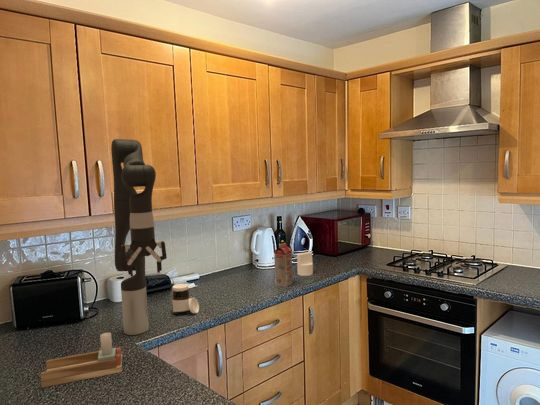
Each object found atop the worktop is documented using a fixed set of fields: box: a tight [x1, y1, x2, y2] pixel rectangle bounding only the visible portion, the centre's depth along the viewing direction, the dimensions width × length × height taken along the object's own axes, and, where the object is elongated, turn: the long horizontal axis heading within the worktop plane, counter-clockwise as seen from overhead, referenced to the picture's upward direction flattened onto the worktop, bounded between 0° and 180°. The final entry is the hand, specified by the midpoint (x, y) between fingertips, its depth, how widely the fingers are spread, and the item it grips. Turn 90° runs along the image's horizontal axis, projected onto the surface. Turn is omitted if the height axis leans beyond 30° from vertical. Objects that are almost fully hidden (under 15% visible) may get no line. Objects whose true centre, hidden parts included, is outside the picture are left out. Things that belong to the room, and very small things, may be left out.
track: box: [40, 346, 123, 388], centre depth 122 cm, size 10×22×4 cm, turn 110°
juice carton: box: [273, 242, 294, 288], centre depth 206 cm, size 7×7×22 cm
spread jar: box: [171, 283, 200, 316], centre depth 171 cm, size 12×11×12 cm
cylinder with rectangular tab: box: [296, 251, 314, 277], centre depth 226 cm, size 9×9×12 cm
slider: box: [98, 332, 117, 361], centre depth 124 cm, size 6×5×9 cm
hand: (145, 274), depth 129 cm, fingers open, 8 cm apart
